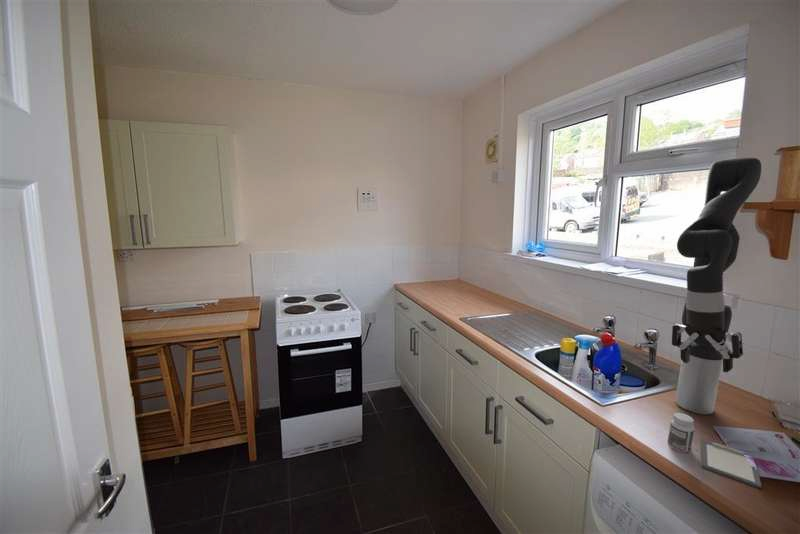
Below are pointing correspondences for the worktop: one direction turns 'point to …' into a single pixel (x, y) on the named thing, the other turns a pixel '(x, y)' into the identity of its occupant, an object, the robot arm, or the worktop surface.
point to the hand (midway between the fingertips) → (705, 366)
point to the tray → (729, 463)
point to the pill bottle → (681, 432)
